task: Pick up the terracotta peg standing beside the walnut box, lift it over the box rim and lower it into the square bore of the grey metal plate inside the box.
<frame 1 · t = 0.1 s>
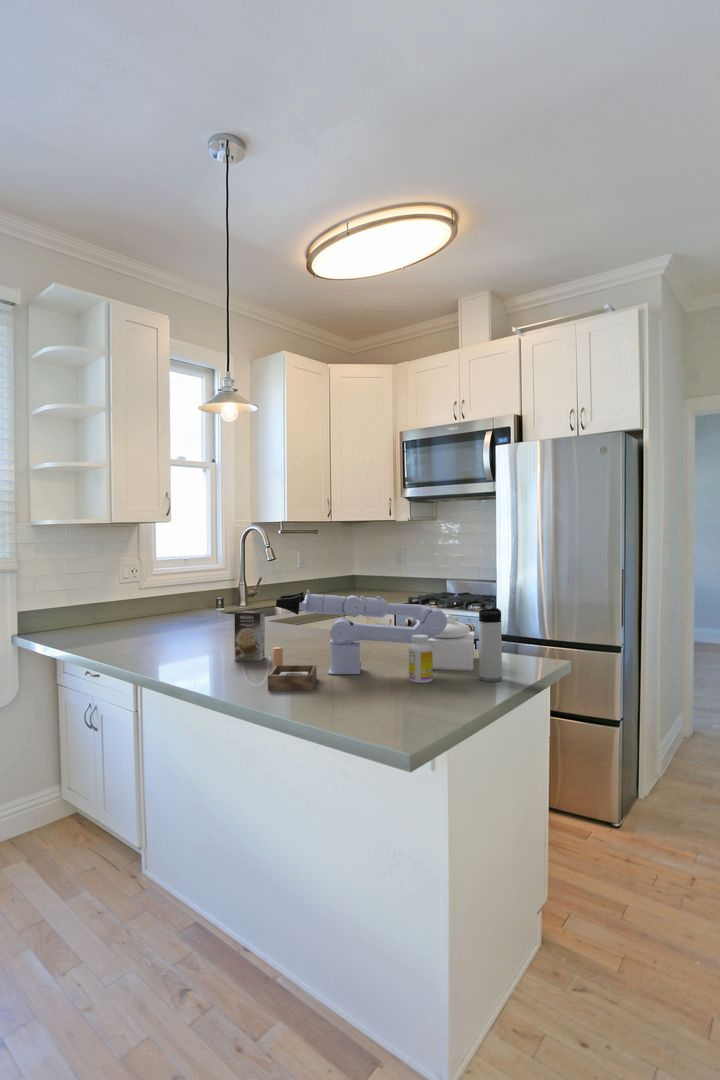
hand: (278, 601, 176), 22 cm above the counter, tool horizontal, fingers open, 7 cm apart
coffee box: (250, 659, 194), on the counter
white lidded jar: (446, 663, 186), on the counter
supplement bottle: (420, 681, 164), on the counter
travel mug: (490, 679, 165), on the counter
peg: (278, 674, 173), on the counter
peg box: (293, 684, 162), on the counter
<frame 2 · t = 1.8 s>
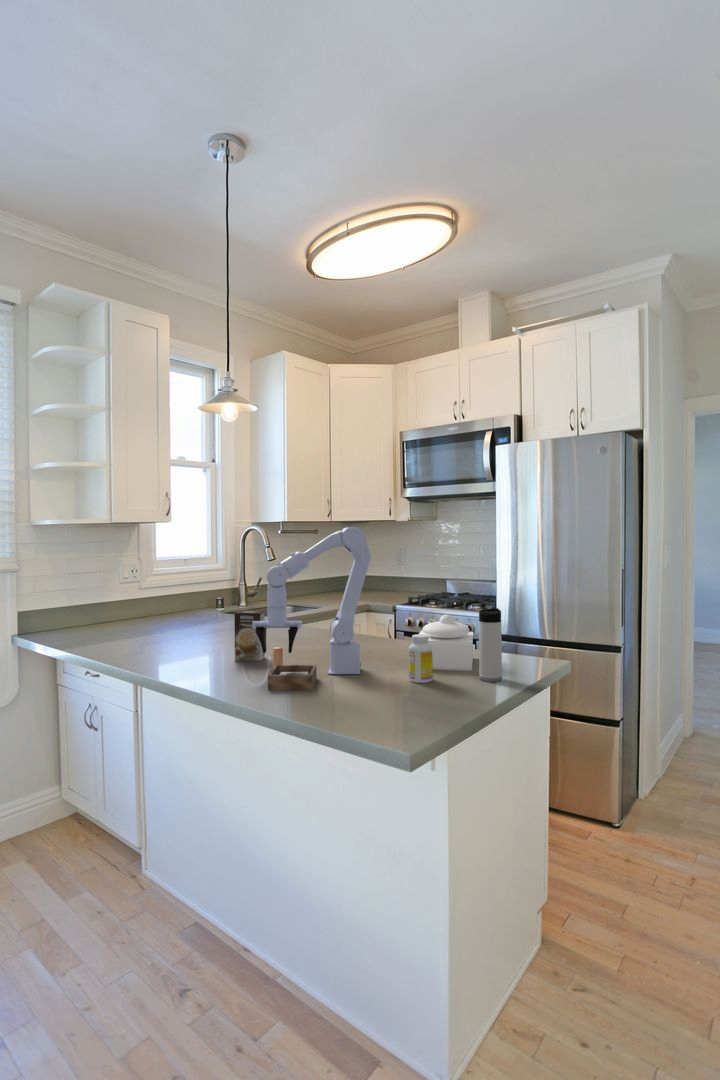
hand: (277, 652, 172), 7 cm above the counter, tool pointing down, fingers open, 7 cm apart
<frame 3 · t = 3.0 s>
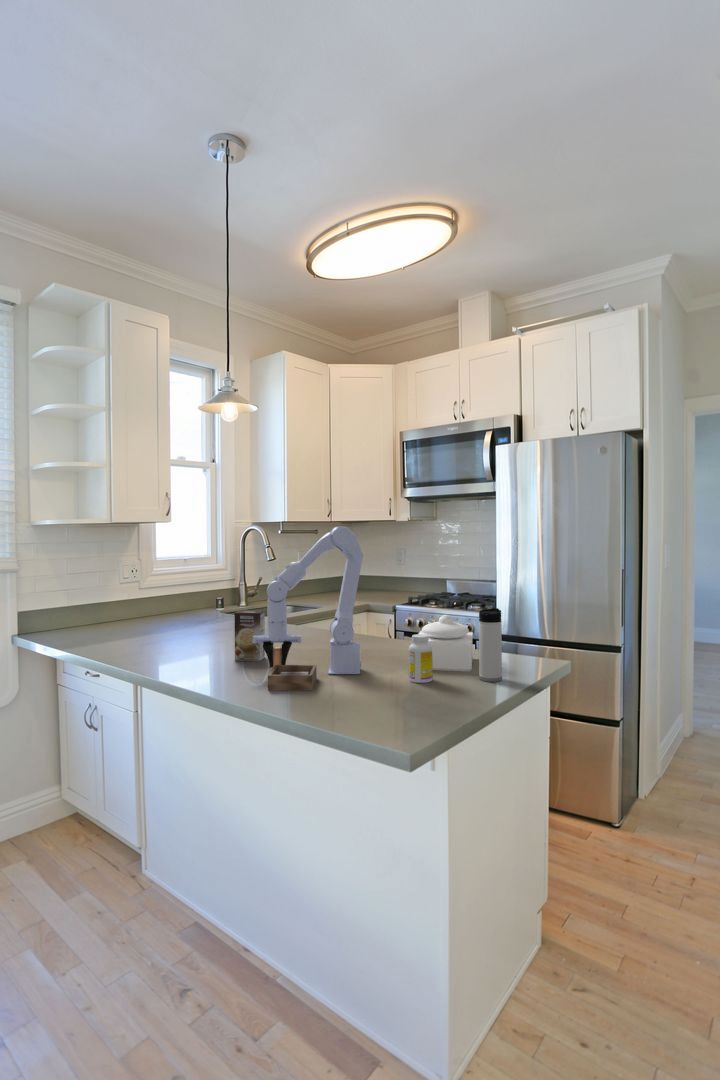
hand: (277, 666, 172), 2 cm above the counter, tool pointing down, fingers closed on peg, 3 cm apart
peg: (278, 674, 173), on the counter, touching gripper
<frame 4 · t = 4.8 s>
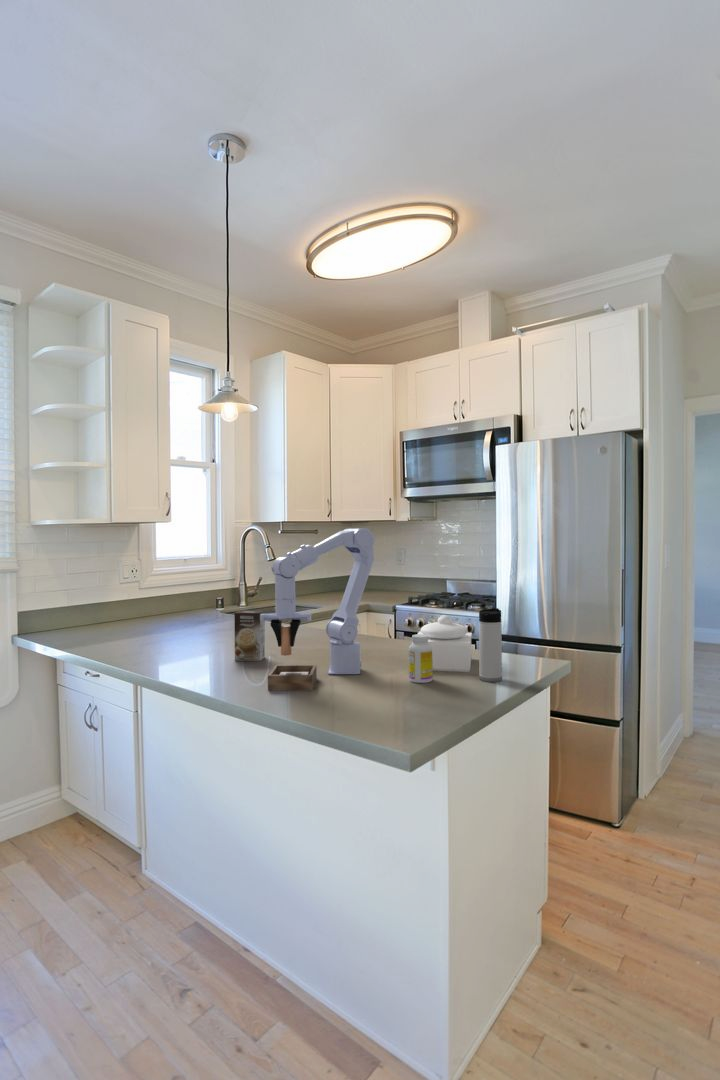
hand: (286, 645, 166), 10 cm above the counter, tool pointing down, fingers closed on peg, 3 cm apart
peg: (286, 654, 166), point 7 cm above the counter, touching gripper
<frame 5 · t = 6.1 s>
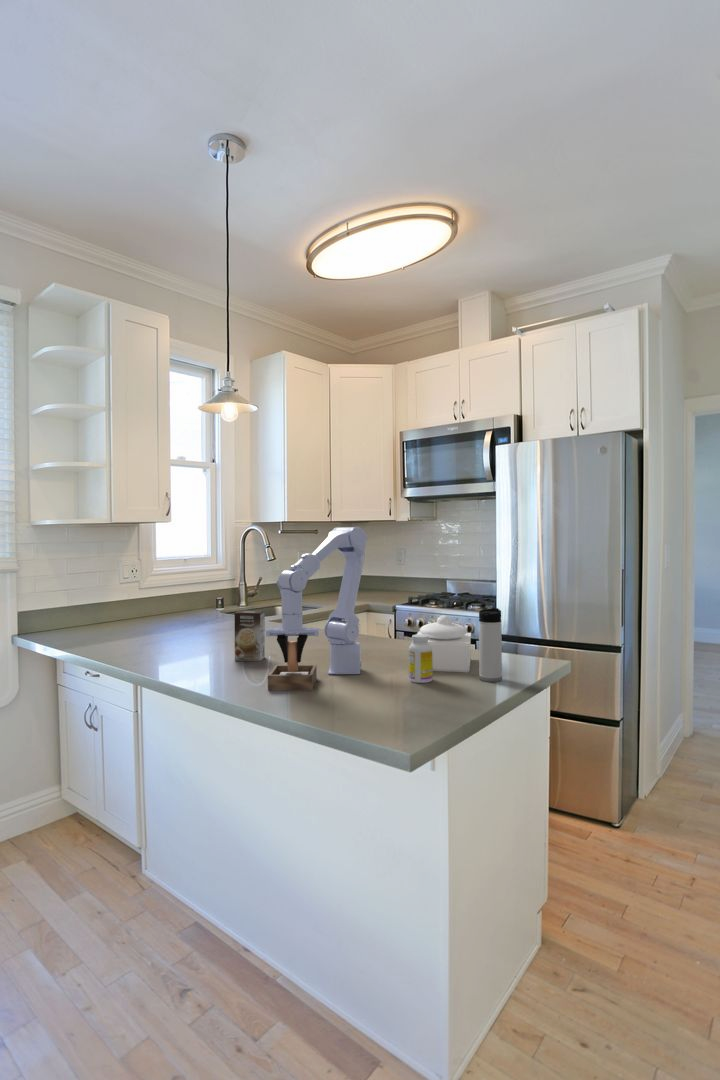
hand: (292, 661, 162), 6 cm above the counter, tool pointing down, fingers closed on peg, 3 cm apart
peg: (292, 670, 162), point 4 cm above the counter, touching gripper
when the fingers open (3 cm above the counter, at t = 7.1 s): peg stays where it is, resting in peg box.
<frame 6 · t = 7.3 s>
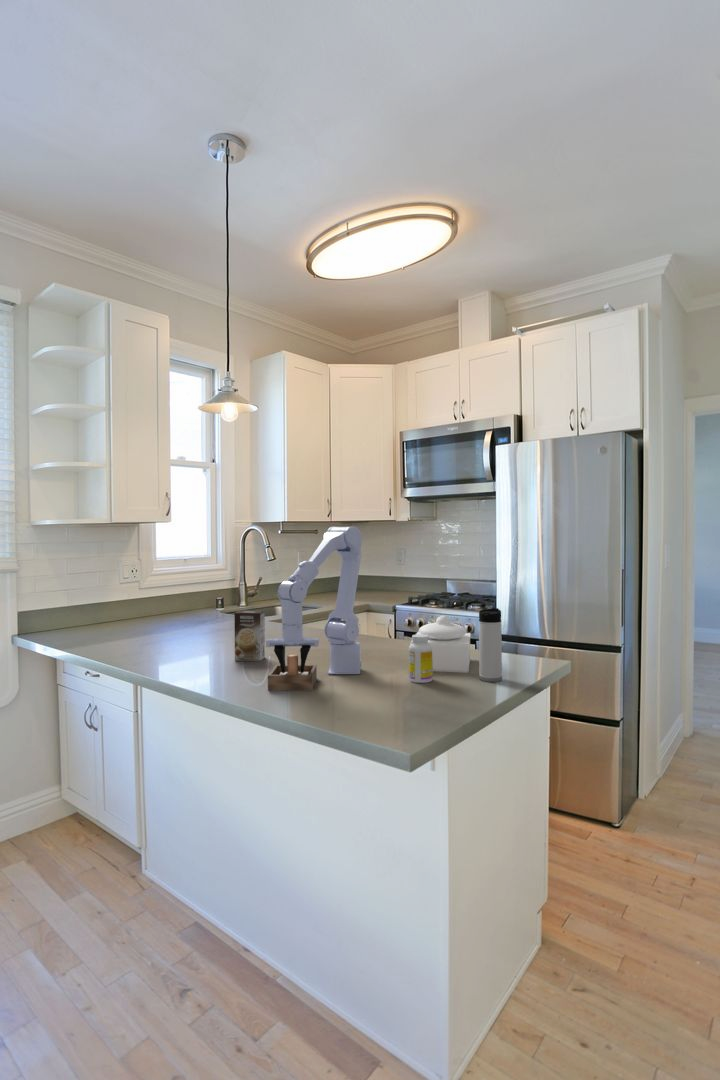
hand: (292, 672, 162), 3 cm above the counter, tool pointing down, fingers open, 5 cm apart
peg: (293, 684, 162), resting in peg box
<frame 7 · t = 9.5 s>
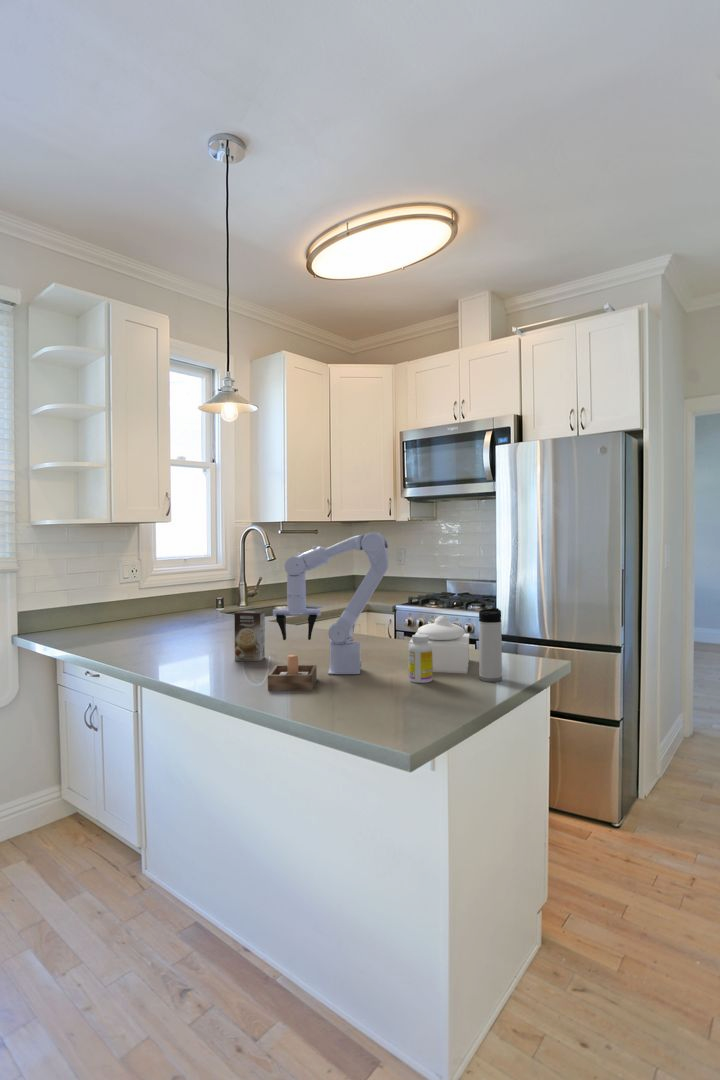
hand: (297, 639, 178), 10 cm above the counter, tool pointing down, fingers open, 7 cm apart
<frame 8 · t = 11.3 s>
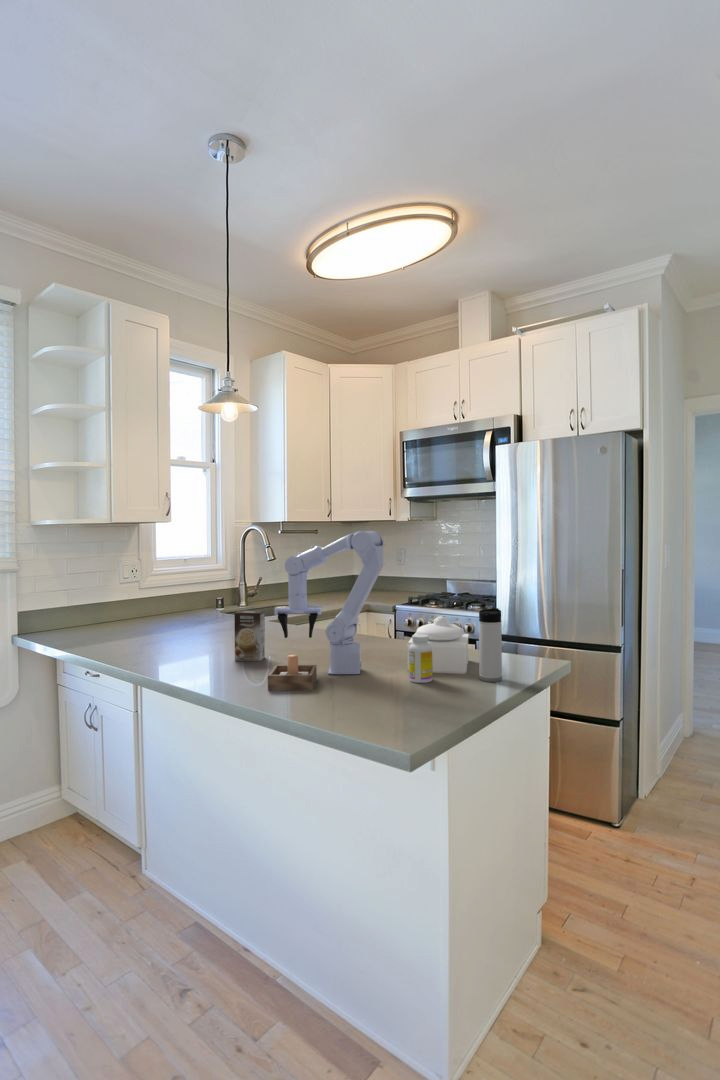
hand: (298, 637, 182), 9 cm above the counter, tool pointing down, fingers open, 7 cm apart
at the end: peg 0.0 cm off-centre on the peg box, point 0.0 cm above the peg box's base; peg tilted 0°; the gripper is holding nothing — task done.
